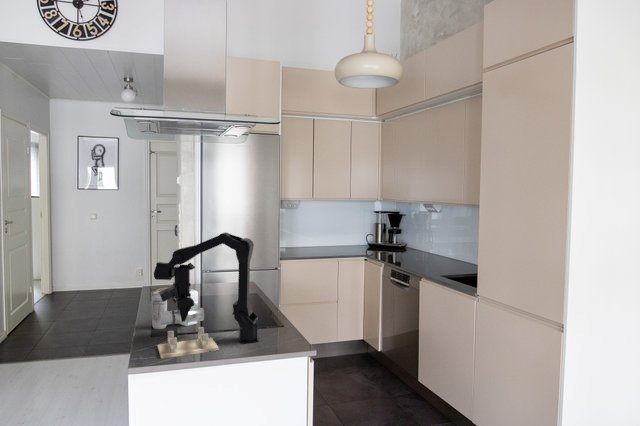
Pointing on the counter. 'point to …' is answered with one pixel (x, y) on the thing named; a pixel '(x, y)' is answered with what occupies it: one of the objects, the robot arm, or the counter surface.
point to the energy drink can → (157, 310)
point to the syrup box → (195, 297)
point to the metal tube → (175, 316)
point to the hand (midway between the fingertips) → (182, 319)
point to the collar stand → (187, 345)
